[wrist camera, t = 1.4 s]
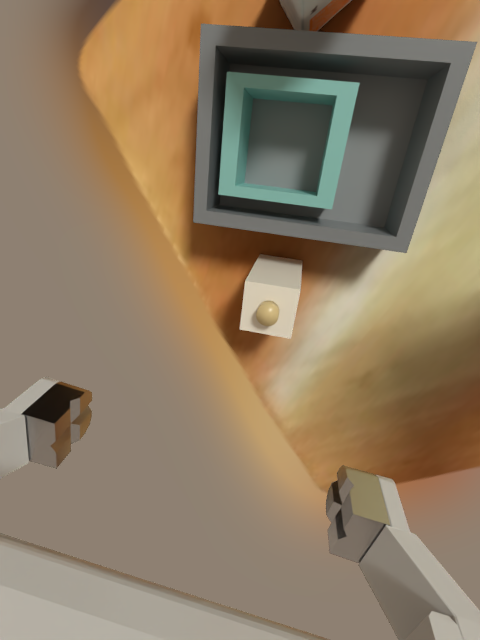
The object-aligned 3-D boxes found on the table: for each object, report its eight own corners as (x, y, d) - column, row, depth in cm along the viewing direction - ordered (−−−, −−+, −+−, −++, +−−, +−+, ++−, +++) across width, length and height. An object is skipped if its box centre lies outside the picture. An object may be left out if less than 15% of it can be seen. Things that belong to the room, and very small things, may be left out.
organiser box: (444, 66, 23) (476, 42, 18) (391, 239, 28) (406, 253, 24) (220, 49, 25) (200, 23, 20) (210, 213, 30) (193, 222, 26)
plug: (302, 260, 30) (300, 294, 22) (294, 300, 32) (290, 345, 24) (259, 254, 31) (242, 285, 23) (254, 293, 33) (236, 335, 25)
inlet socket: (352, 94, 24) (359, 82, 20) (328, 203, 27) (331, 209, 24) (238, 84, 25) (227, 71, 21) (229, 190, 28) (218, 194, 25)
